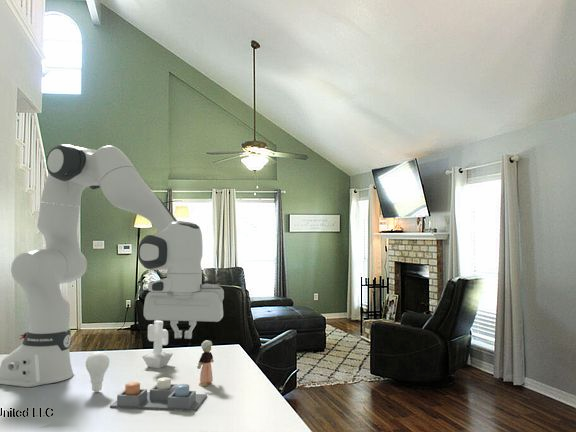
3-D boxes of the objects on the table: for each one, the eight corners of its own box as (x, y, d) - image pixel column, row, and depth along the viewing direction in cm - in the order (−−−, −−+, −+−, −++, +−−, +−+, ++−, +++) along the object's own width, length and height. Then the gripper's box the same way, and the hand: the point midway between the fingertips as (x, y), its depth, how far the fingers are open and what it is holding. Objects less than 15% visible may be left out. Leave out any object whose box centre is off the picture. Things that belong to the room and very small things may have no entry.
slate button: (172, 400, 118) (173, 388, 118) (177, 395, 121) (177, 383, 121) (186, 400, 117) (186, 388, 118) (190, 396, 121) (191, 384, 121)
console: (110, 407, 118) (110, 395, 118) (128, 393, 129) (128, 382, 129) (195, 411, 116) (196, 398, 116) (206, 396, 127) (207, 385, 127)
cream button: (154, 392, 123) (155, 381, 123) (159, 388, 127) (159, 377, 127) (168, 393, 123) (168, 381, 123) (172, 389, 126) (172, 377, 127)
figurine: (174, 363, 160) (175, 319, 161) (158, 370, 151) (159, 323, 152) (156, 361, 162) (157, 317, 163) (139, 368, 153) (140, 322, 154)
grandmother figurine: (207, 388, 134) (208, 343, 135) (195, 387, 135) (195, 342, 135) (217, 380, 141) (217, 337, 142) (205, 379, 142) (205, 337, 143)
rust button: (122, 398, 119) (123, 386, 119) (128, 393, 122) (128, 381, 122) (136, 398, 118) (136, 386, 119) (141, 394, 122) (142, 382, 122)
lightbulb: (84, 390, 131) (86, 350, 131) (108, 387, 133) (109, 348, 134) (84, 396, 125) (86, 355, 126) (109, 394, 128) (110, 353, 128)
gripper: (226, 283, 123) (225, 336, 122) (150, 282, 125) (149, 334, 124) (221, 285, 117) (220, 342, 116) (141, 284, 118) (140, 339, 118)
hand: (183, 338), depth 120 cm, fingers closed
